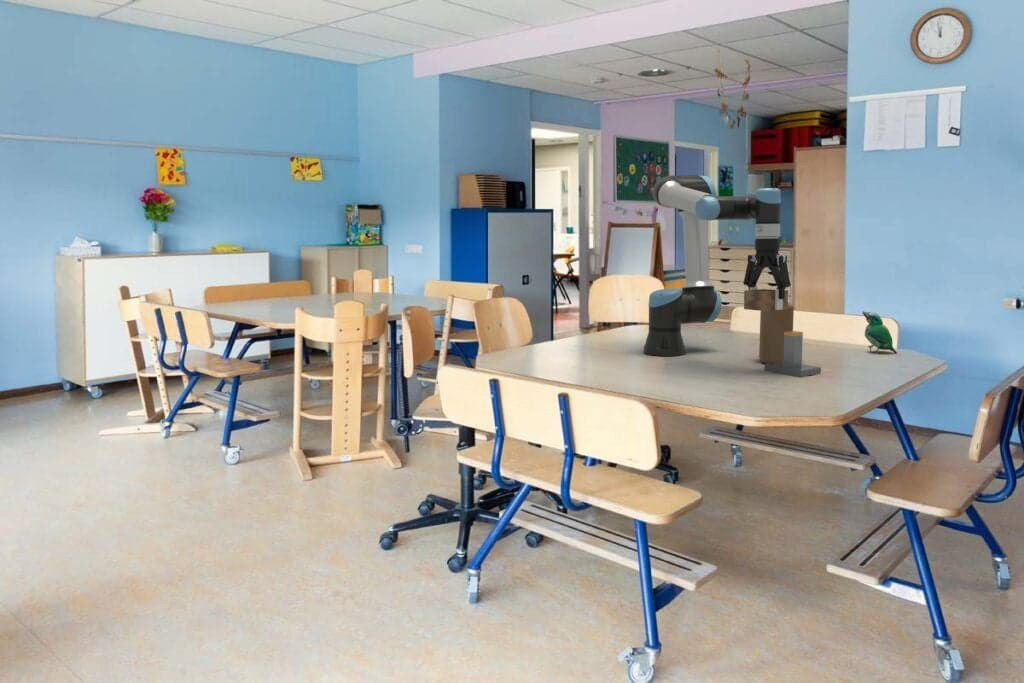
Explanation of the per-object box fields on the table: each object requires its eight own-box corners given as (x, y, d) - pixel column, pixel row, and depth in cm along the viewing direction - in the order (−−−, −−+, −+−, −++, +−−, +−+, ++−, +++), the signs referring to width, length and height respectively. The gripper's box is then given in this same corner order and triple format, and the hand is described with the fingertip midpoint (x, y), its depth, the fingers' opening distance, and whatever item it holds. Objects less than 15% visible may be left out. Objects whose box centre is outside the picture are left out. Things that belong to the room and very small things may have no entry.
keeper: (764, 370, 274) (765, 330, 273) (783, 367, 280) (785, 328, 278) (800, 377, 263) (802, 335, 261) (820, 373, 269) (822, 332, 267)
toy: (861, 354, 304) (863, 312, 302) (859, 350, 312) (861, 309, 309) (898, 355, 300) (901, 313, 298) (895, 351, 308) (897, 310, 306)
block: (792, 364, 286) (794, 305, 283) (761, 363, 288) (763, 304, 285) (788, 359, 295) (790, 302, 292) (758, 358, 297) (760, 301, 294)
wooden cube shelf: (743, 309, 272) (744, 290, 271) (764, 307, 277) (764, 289, 276) (767, 311, 264) (767, 292, 263) (787, 309, 269) (788, 290, 268)
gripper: (732, 238, 275) (731, 306, 278) (788, 238, 256) (786, 311, 259) (748, 237, 279) (747, 305, 282) (804, 237, 260) (802, 310, 263)
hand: (765, 308), depth 271 cm, fingers closed on wooden cube shelf, 9 cm apart
